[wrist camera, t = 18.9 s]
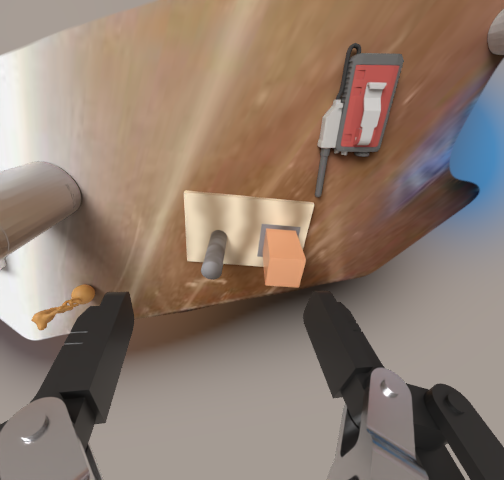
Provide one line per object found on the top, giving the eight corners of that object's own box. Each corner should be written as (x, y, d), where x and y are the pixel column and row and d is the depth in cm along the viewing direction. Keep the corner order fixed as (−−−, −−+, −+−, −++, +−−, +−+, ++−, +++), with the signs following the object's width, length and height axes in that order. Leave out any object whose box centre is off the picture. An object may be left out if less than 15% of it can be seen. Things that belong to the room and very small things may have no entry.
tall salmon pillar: (262, 253, 45) (265, 285, 37) (266, 228, 42) (269, 257, 34) (290, 255, 45) (298, 287, 37) (295, 230, 42) (306, 260, 35)
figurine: (80, 299, 52) (39, 348, 42) (59, 280, 49) (9, 328, 39) (110, 288, 51) (75, 336, 40) (91, 268, 48) (47, 314, 37)
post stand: (188, 258, 47) (173, 298, 37) (185, 190, 40) (165, 219, 30) (296, 266, 48) (308, 307, 39) (313, 202, 41) (332, 233, 31)
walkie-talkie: (330, 45, 30) (309, 194, 40) (342, 37, 26) (315, 204, 37) (398, 46, 30) (359, 194, 41) (420, 38, 26) (371, 204, 37)
